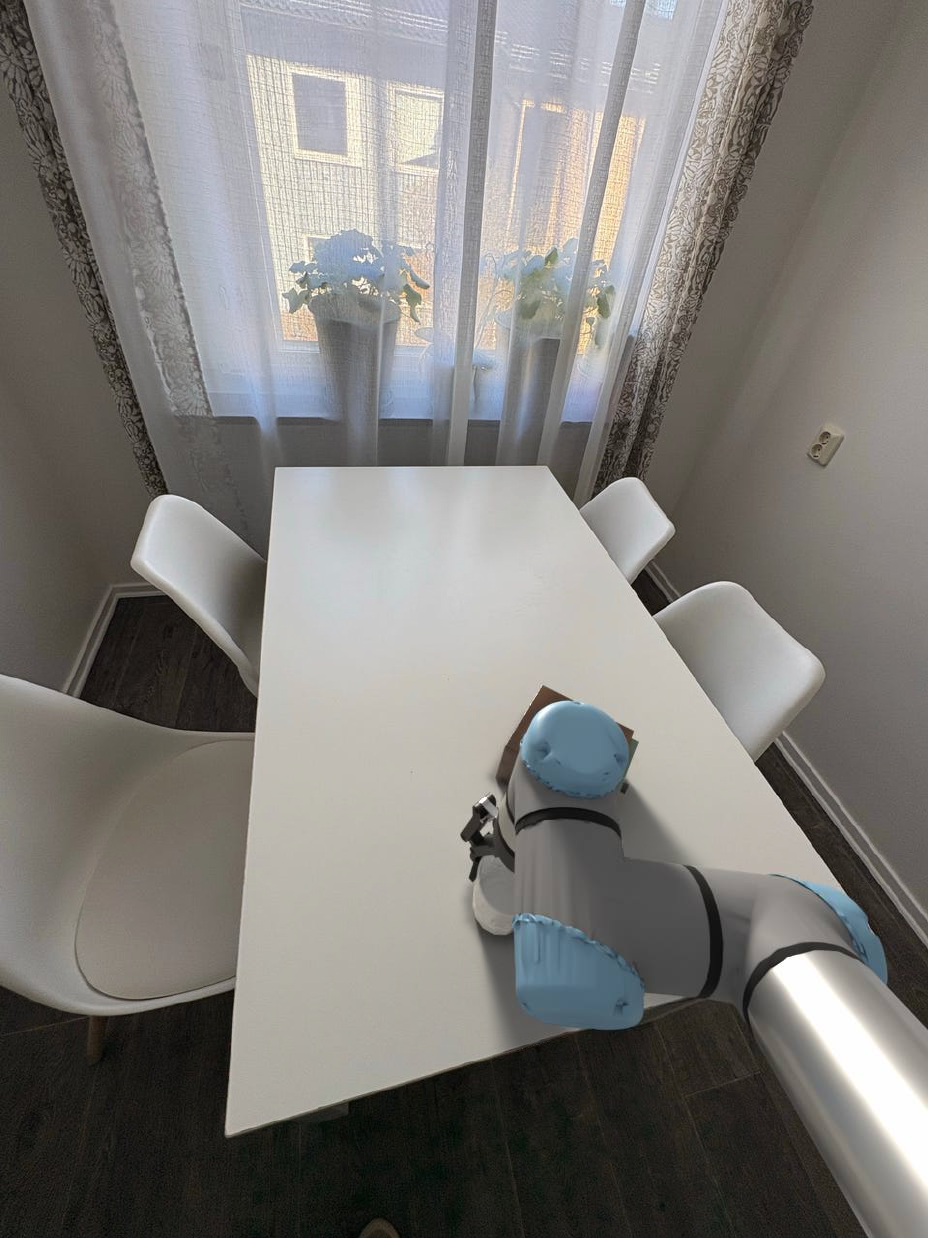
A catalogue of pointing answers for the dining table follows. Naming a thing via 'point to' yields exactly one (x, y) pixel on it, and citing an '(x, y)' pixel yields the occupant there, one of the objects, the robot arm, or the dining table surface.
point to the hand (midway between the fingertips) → (500, 901)
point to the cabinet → (513, 744)
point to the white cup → (494, 896)
